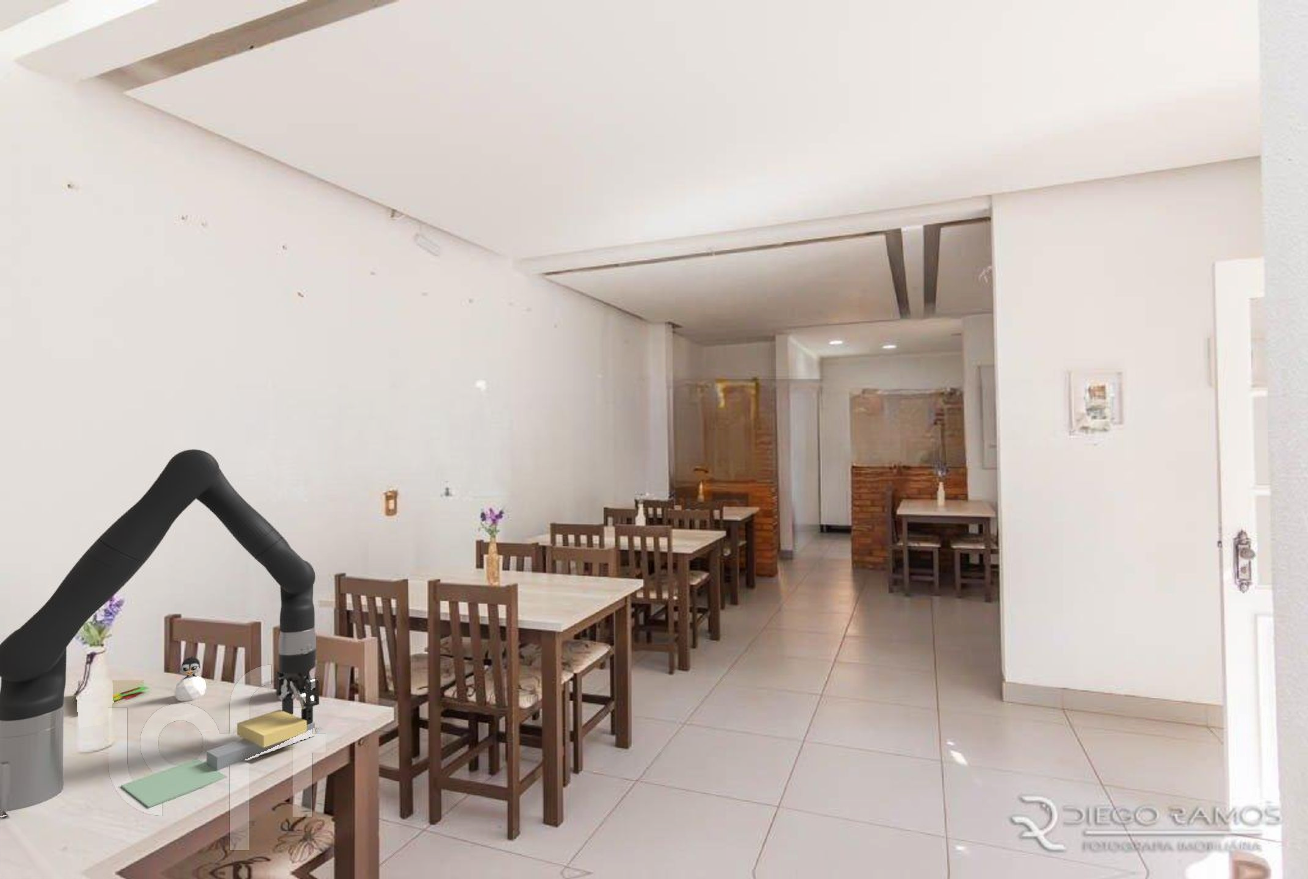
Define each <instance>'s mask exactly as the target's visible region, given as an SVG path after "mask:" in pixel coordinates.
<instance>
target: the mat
mask: <svg viewBox="0 0 1308 879" xmlns="http://www.w3.org/2000/svg"><path fill="white" fill-rule="evenodd" d="M227 778H228V776H227V775H225V774H223V773H222V772H220V770H218V771H217V770H215V769H213V768H212V767H210V766H208V765H207V763H206V762H203V761H202V760H199V759H194V760H193V759H192V760H191V761H187V762H184V763H181V764H179V765H176V766H172V767H170V768H166V769H164V770H162V771H159V772H158V771H157V772H156V773H155V772H154V773H152V774H150V775H146V776H144V777H141V778H138V779H135V780H133V781H129V782H127V783H124V784H121V785H120V787H121V788H122V789H124V790H125V791H126V792H128V794H130V795H131V796H132V797H134V798H135V799H137V801H139V802H140V803H141V804H142V805H144V806H145V807H147V808H148V809H149V808H150V809H151V808H152V807H156V806H158V805H161V804H163V803H165V802H168V801H171V800H174V799H176V798H179V797H181V796H184V795H187V794H189V793H192V792H195V791H198V790H200V789H203V788H205V787H208V786H210V785H212V784H215V783H217V782H219V781H221V780H224V779H227Z"/></svg>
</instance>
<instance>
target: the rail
mask: <svg viewBox="0 0 1308 879" xmlns="http://www.w3.org/2000/svg"><path fill="white" fill-rule="evenodd" d="M313 728H315V729H316V722H314V721H313V722H312V723H311V724H308V725H307V731H308V730H311V729H313ZM295 737H296V736H295ZM292 738H293V737H292ZM289 739H290V738H289ZM289 739H286V740H284V741H281V742H278V743H275V744H273V745H270V746H267V747H264V748H263V747H261V746H259V745H257V744H255V743H253V742H251V741H249V740H247V739H245V738H242V739H239V740H236V741H233V742H230V743H227V744H225V745H222V746H221V745H220V746H218V747H214V748H212V749H209V750H207V751H206V764H207V765H208V766H210V767H212V768H213V769H215V770H217V771H220V770H224V769H226V768H228V767H230V766H232V765H235V764H237V763H239V762H240V763H241V762H242V761H244V760H245V759H248V758H250V757H252V756H255V755H256V754H260V753H261V752H264V751H267V750H268V749H271V748H273V747H275V746H277V745H280V744H281V743H284V742H285V741H287V740H289Z"/></svg>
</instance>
